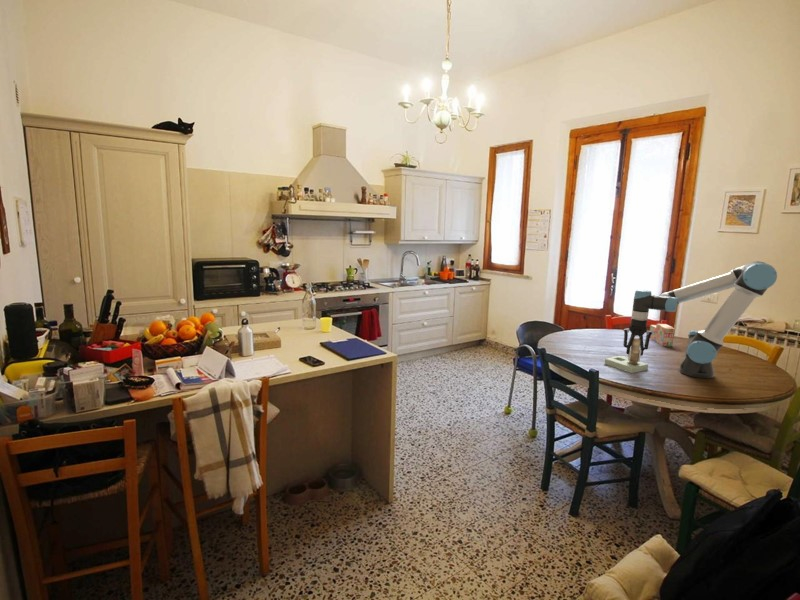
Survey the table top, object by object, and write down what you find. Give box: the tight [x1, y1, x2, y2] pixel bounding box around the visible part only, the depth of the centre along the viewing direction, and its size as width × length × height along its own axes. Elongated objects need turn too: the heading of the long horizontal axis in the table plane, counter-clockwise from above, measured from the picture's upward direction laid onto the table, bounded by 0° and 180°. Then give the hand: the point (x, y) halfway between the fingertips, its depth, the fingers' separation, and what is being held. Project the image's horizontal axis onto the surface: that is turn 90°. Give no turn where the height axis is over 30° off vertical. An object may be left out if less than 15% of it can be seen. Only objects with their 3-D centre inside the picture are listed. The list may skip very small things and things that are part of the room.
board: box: [604, 355, 649, 374], centre depth 228 cm, size 16×14×3 cm
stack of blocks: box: [649, 323, 676, 347], centre depth 280 cm, size 21×6×12 cm, turn 171°
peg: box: [629, 337, 640, 365], centre depth 224 cm, size 4×4×15 cm
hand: (633, 360), depth 224 cm, fingers closed on peg, 4 cm apart
